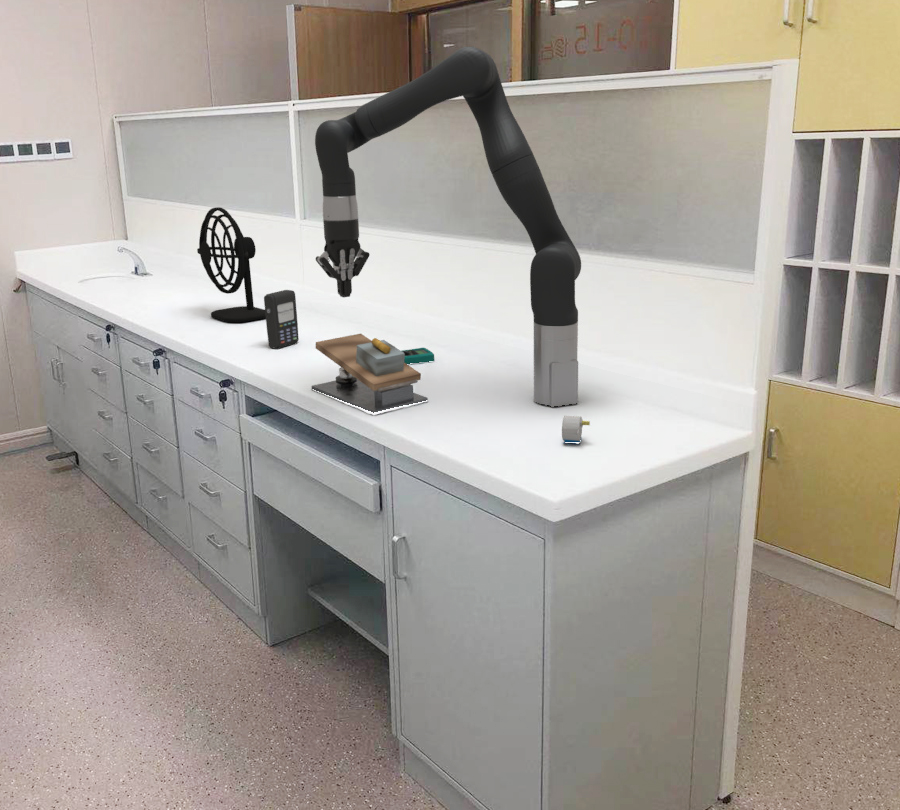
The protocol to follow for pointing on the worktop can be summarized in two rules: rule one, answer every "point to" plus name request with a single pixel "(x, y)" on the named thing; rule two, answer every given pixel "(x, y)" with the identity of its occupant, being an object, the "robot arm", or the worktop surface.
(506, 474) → the worktop surface
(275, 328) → the card reader
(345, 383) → the levelling stand
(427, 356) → the digital multimeter
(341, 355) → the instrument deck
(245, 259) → the desk fan
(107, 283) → the worktop surface
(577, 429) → the electric motor
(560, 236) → the robot arm
